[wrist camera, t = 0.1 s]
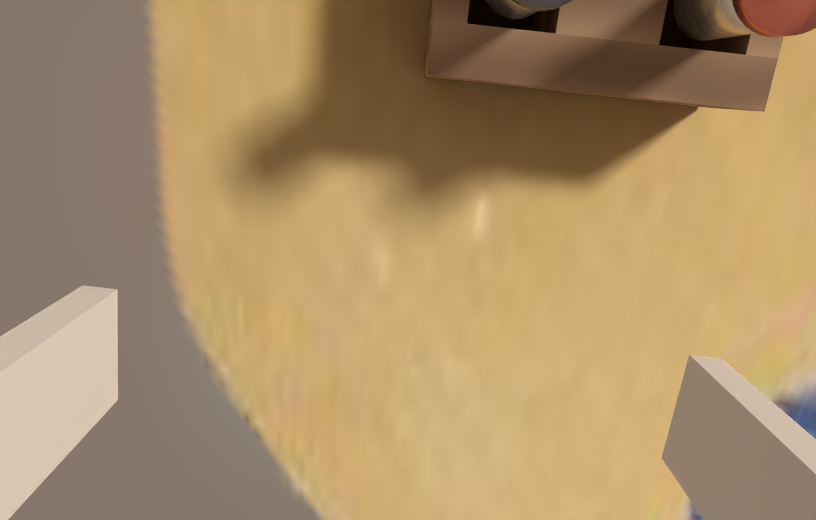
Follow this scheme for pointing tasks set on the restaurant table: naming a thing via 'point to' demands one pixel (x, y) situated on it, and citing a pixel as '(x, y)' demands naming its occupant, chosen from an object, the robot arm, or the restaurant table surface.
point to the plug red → (744, 17)
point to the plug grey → (523, 7)
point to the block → (602, 55)
